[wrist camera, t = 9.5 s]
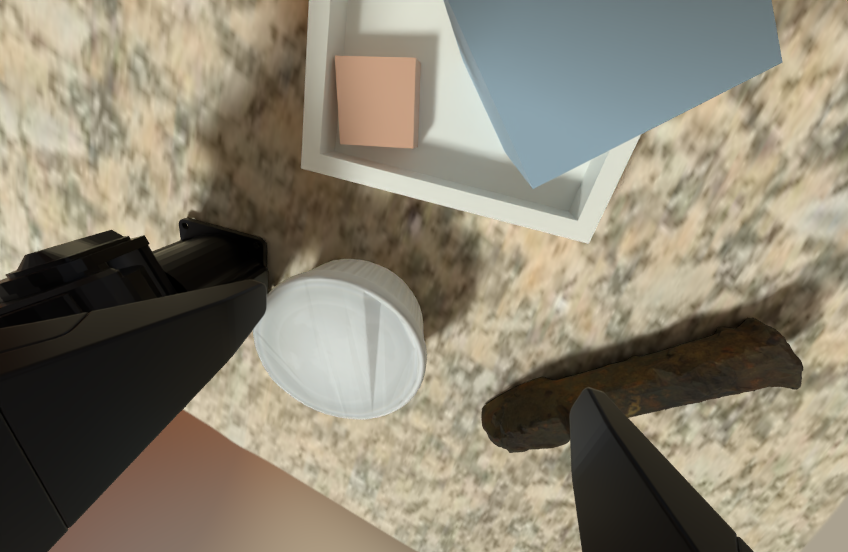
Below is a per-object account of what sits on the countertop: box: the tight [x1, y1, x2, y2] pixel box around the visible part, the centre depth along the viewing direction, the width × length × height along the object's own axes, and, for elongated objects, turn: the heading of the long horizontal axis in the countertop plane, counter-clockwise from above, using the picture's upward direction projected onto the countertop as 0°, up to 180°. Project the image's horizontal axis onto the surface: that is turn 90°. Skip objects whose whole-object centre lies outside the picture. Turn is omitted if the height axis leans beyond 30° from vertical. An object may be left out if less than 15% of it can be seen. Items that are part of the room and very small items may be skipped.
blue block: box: [443, 0, 782, 189], centre depth 11 cm, size 5×5×11 cm
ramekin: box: [253, 259, 427, 419], centre depth 23 cm, size 11×11×5 cm
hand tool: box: [482, 318, 803, 453], centre depth 22 cm, size 19×4×5 cm, turn 117°
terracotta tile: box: [335, 56, 421, 149], centre depth 17 cm, size 4×4×2 cm
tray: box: [301, 0, 641, 244], centre depth 16 cm, size 16×12×3 cm
